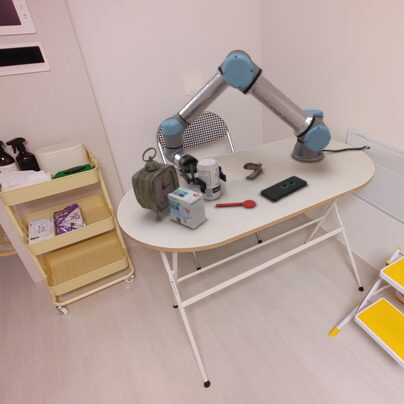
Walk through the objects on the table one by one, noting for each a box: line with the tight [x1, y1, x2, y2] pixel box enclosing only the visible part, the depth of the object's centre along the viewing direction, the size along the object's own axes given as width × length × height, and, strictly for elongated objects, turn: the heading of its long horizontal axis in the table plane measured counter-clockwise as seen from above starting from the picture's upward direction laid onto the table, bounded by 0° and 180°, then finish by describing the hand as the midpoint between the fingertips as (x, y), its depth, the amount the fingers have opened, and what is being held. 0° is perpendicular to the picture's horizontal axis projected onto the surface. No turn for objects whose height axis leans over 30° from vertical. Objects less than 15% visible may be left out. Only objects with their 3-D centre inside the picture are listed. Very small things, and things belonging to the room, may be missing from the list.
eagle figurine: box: [242, 161, 267, 181], centre depth 135 cm, size 8×7×9 cm
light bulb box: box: [168, 186, 207, 230], centre depth 106 cm, size 11×7×11 cm, turn 58°
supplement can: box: [197, 157, 222, 201], centre depth 118 cm, size 8×8×15 cm
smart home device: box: [260, 175, 308, 203], centre depth 125 cm, size 8×2×20 cm
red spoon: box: [215, 199, 256, 209], centre depth 116 cm, size 15×5×1 cm, turn 96°
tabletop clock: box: [131, 146, 180, 221], centre depth 107 cm, size 14×9×25 cm, turn 160°
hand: (215, 182), depth 115 cm, fingers closed on supplement can, 8 cm apart
